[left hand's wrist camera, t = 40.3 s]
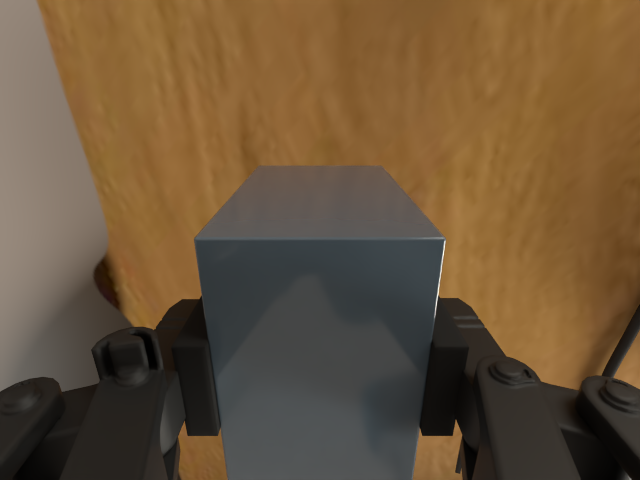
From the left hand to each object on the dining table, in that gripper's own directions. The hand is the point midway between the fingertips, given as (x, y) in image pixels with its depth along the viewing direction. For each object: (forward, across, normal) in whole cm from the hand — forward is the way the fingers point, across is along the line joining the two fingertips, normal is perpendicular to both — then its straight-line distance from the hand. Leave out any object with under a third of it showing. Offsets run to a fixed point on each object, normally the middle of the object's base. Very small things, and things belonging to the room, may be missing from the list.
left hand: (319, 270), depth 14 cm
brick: (+2, 0, 0) cm, 2 cm away
